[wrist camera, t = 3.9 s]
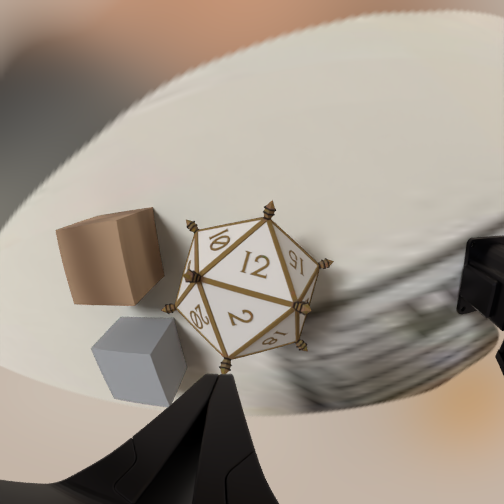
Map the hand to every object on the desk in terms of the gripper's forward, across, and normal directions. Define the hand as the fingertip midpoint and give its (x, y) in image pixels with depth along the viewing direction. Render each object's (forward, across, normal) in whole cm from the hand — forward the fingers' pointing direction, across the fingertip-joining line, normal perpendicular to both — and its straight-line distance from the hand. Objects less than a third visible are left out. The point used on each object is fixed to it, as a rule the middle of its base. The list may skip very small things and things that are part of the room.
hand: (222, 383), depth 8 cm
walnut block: (+12, +9, -2) cm, 15 cm away
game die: (+12, 0, 0) cm, 12 cm away
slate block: (+12, +9, +6) cm, 16 cm away
